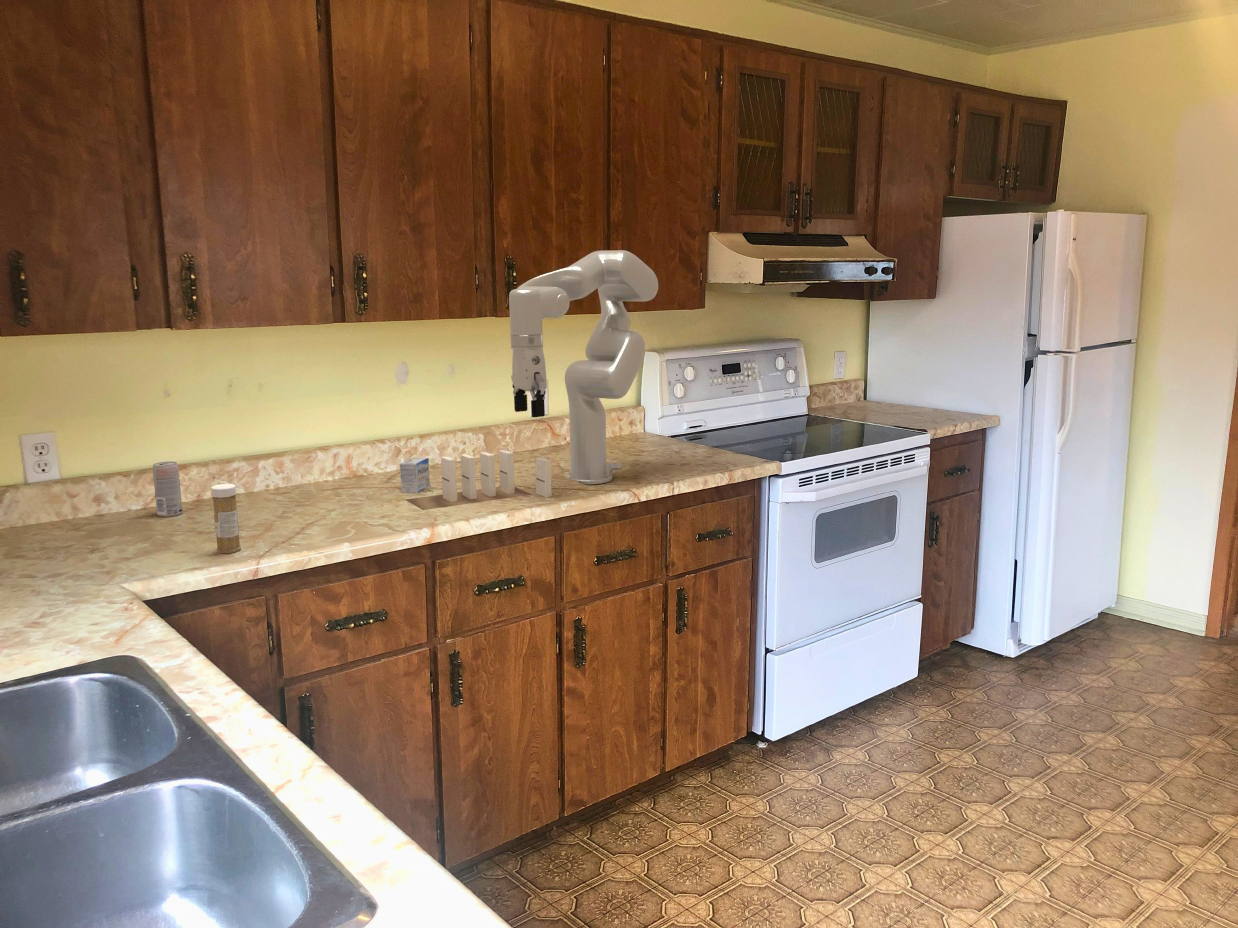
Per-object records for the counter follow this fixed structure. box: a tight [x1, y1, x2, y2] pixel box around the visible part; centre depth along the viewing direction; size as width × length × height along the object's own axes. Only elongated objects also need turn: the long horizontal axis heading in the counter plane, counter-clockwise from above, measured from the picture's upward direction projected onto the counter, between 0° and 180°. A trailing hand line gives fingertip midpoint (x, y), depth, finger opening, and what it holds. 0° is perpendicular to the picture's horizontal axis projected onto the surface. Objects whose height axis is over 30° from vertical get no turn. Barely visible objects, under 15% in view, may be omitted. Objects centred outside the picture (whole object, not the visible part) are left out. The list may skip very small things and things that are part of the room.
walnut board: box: [404, 485, 533, 511], centre depth 233 cm, size 28×12×1 cm, turn 122°
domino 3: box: [479, 451, 497, 497], centre depth 234 cm, size 2×5×10 cm, turn 32°
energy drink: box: [151, 461, 183, 518], centre depth 222 cm, size 5×5×12 cm
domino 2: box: [460, 453, 477, 499], centre depth 232 cm, size 2×5×10 cm, turn 32°
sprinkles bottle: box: [210, 483, 242, 554], centre depth 192 cm, size 5×5×14 cm
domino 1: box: [440, 456, 458, 502], centre depth 229 cm, size 2×5×10 cm, turn 32°
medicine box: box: [399, 457, 431, 494], centre depth 240 cm, size 8×4×9 cm, turn 168°
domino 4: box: [498, 449, 515, 494], centre depth 237 cm, size 2×5×10 cm, turn 32°
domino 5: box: [534, 456, 552, 498], centre depth 233 cm, size 2×5×10 cm, turn 31°
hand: (529, 413), depth 230 cm, fingers open, 9 cm apart
